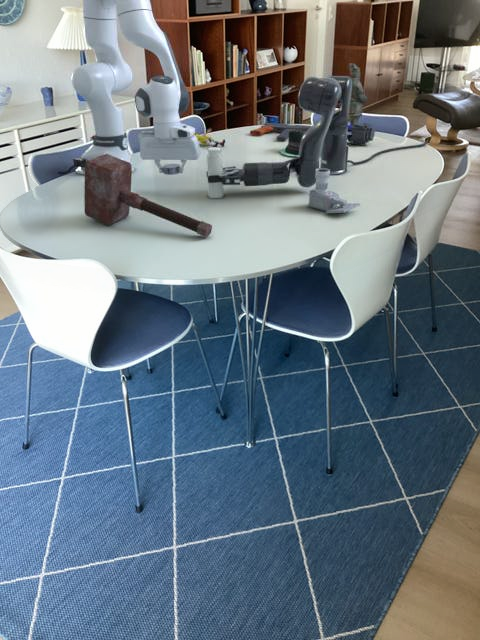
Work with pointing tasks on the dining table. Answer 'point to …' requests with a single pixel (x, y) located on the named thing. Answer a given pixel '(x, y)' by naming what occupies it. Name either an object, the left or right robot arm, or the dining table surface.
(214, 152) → the jar
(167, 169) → the lid
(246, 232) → the dining table surface
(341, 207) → the grey foot-shaped piece
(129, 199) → the sledgehammer
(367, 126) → the toy
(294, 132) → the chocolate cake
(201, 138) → the figurine
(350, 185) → the dining table surface
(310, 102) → the right robot arm
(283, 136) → the submachine gun
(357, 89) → the statue
